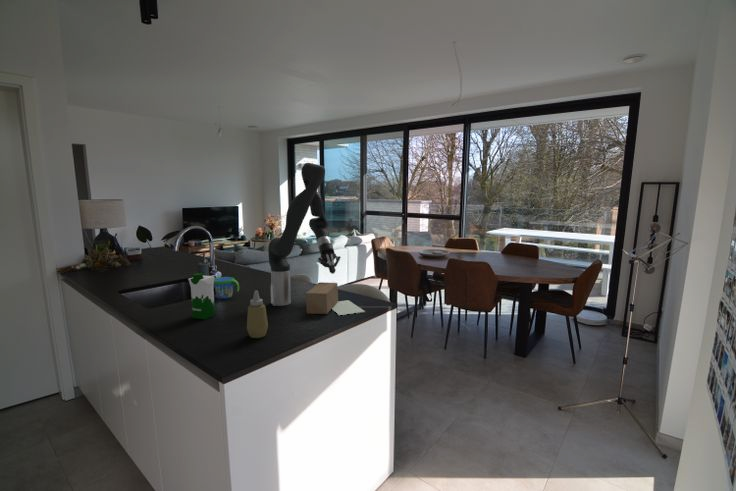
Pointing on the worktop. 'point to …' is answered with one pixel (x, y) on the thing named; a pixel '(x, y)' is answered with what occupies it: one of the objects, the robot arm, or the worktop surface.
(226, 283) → the snack cup
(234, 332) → the worktop surface
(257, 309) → the squeeze bottle
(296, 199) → the robot arm
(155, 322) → the worktop surface
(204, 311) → the milk carton
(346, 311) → the mat
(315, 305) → the wooden block
